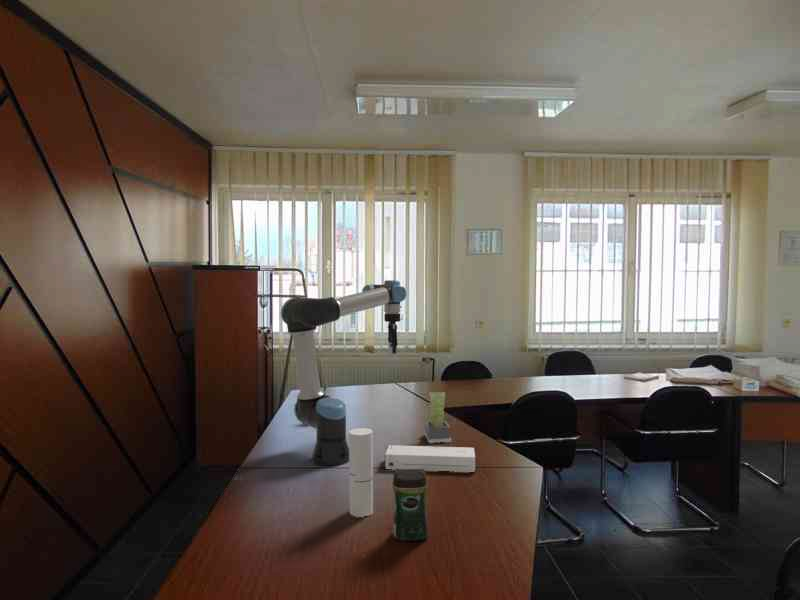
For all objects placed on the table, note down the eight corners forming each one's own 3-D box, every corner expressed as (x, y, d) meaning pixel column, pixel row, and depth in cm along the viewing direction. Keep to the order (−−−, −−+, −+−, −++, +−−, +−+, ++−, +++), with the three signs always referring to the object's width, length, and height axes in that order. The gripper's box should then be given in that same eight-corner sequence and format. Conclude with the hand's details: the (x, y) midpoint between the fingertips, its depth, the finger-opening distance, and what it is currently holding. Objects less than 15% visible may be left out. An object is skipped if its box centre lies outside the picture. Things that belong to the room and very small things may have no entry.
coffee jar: (426, 528, 145) (426, 464, 144) (428, 542, 137) (428, 475, 136) (393, 528, 145) (392, 464, 144) (392, 542, 137) (392, 475, 136)
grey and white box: (451, 442, 223) (451, 427, 223) (428, 443, 222) (428, 428, 221) (445, 434, 235) (445, 420, 234) (424, 434, 234) (424, 420, 233)
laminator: (474, 463, 198) (474, 447, 198) (476, 474, 186) (476, 458, 186) (388, 460, 202) (388, 444, 201) (384, 471, 189) (384, 455, 189)
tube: (437, 432, 232) (436, 390, 231) (445, 434, 229) (445, 391, 228) (429, 435, 228) (428, 392, 227) (438, 437, 224) (437, 393, 224)
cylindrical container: (360, 504, 160) (360, 426, 160) (377, 511, 156) (377, 431, 155) (344, 512, 155) (344, 432, 154) (361, 519, 150) (361, 436, 149)
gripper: (403, 314, 226) (403, 362, 227) (397, 311, 251) (397, 354, 251) (386, 314, 225) (386, 362, 226) (382, 311, 250) (382, 354, 250)
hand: (392, 358), depth 239 cm, fingers open, 13 cm apart
